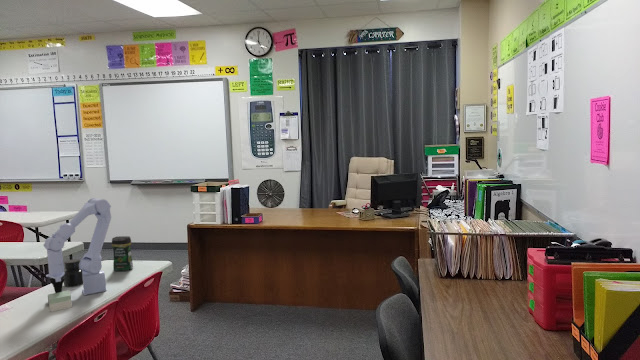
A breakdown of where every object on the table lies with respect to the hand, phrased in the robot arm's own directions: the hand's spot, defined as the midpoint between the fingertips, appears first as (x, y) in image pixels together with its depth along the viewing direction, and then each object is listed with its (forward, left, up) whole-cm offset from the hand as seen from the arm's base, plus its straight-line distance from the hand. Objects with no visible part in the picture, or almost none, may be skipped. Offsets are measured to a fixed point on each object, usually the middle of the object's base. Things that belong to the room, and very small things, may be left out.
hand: (58, 293), depth 198 cm
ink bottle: (-8, -23, -4) cm, 25 cm away
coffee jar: (-33, -34, -4) cm, 48 cm away
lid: (0, +7, -1) cm, 7 cm away
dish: (0, +8, -4) cm, 9 cm away
